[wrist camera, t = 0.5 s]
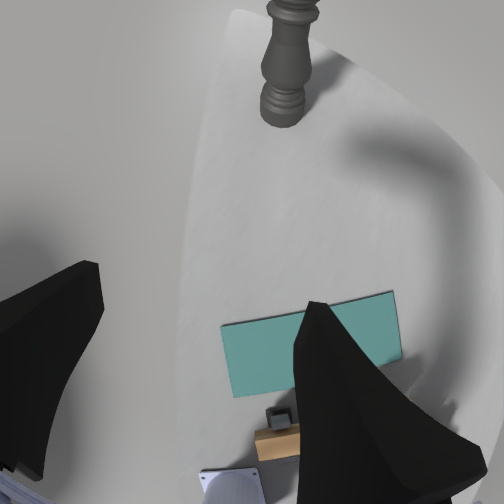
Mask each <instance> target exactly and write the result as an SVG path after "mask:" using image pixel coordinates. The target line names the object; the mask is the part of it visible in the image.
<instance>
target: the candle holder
mask: <svg viewBox="0 0 504 504" xmlns="http://www.w3.org/2000/svg"><path fill="white" fill-rule="evenodd" d="M318 1H320V0H271V1H269V3H268V4H267V6H266V7H267V12H268V15H269V16H271V17H272V18H273V26H272V37H271V39H270V42H269V45H268V47H267V50H266V53H265V55H264V58H263V60H262V63H261V70H262V75H263V77H264V78H265V80H266V81H267V82H266V83H265V84H264V86H263V89H262V93H261V95H260V112H261V116H262V118H263V119H264V121H265V122H267V123H268V124H270V125H271V126H275V127H279V128H288V127H291V126H293V125H296V124H297V123H298V122H299V121H300V120H301V117H302V113H303V109H304V104H305V97H304V96H305V91H304V88H303V85H304V84H305V83H306V82H308V80H309V79H310V75H311V72H312V66H311V59H310V51H309V44H308V35H309V30H310V24H311V23H312V22H314V21H316V20H317V18H318V16H319V13H320V12H319V10H318V8H317V6H315V4H316V3H317V2H318Z"/></svg>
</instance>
